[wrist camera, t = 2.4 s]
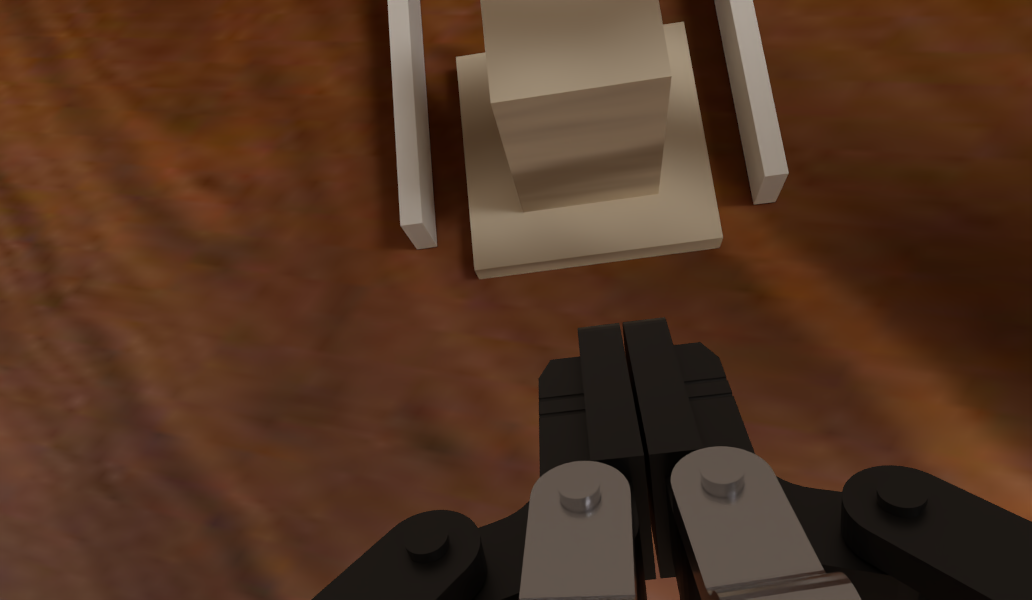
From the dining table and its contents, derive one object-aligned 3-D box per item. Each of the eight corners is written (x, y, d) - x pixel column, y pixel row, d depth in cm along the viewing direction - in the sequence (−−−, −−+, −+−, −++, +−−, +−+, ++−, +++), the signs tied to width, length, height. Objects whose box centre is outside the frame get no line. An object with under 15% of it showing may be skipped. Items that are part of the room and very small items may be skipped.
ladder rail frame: (780, 200, 30) (804, 152, 26) (412, 249, 32) (383, 210, 28) (710, -143, 35) (722, -226, 31) (391, -89, 36) (364, -162, 32)
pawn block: (719, 248, 30) (760, 130, 21) (479, 280, 31) (424, 178, 22) (681, 39, 33) (704, -142, 24) (461, 73, 34) (405, -91, 25)
